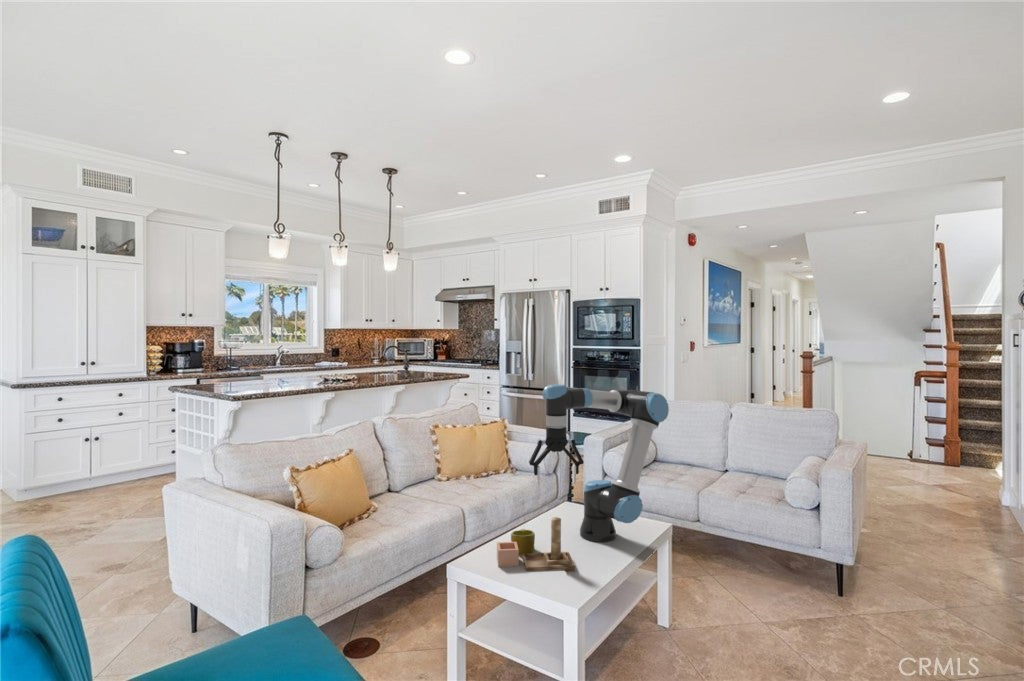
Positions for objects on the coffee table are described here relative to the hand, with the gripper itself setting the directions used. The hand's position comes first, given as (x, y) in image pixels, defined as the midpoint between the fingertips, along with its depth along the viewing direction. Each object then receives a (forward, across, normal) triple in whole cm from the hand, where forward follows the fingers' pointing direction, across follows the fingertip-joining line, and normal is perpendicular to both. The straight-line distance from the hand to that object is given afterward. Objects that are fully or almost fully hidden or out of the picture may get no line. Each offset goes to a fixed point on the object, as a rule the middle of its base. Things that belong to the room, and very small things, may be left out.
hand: (556, 483), depth 200 cm
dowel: (+29, 0, 0) cm, 29 cm away
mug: (+31, +11, -14) cm, 35 cm away
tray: (+31, +3, 0) cm, 31 cm away
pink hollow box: (+31, +18, -2) cm, 36 cm away
